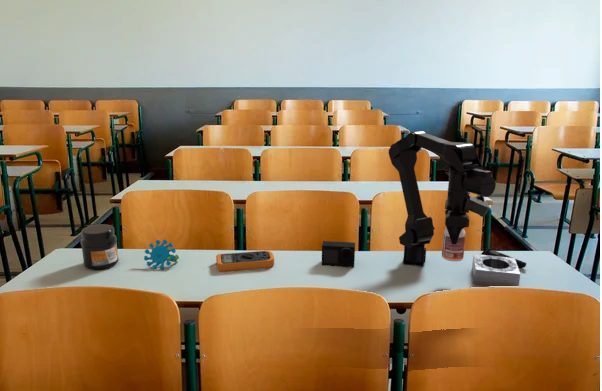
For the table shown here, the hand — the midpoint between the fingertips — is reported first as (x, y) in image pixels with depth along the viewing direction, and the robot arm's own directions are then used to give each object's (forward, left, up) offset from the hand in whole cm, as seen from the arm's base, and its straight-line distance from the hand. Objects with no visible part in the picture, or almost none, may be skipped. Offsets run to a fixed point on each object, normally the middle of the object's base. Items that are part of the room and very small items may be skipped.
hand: (453, 240), depth 149 cm
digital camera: (-34, +3, -13) cm, 37 cm away
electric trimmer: (+17, +20, -14) cm, 29 cm away
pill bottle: (0, 0, -6) cm, 6 cm away
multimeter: (-63, -5, -14) cm, 64 cm away
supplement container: (-107, -16, -13) cm, 109 cm away
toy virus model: (-88, -12, -13) cm, 90 cm away
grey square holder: (+13, +5, -13) cm, 19 cm away
